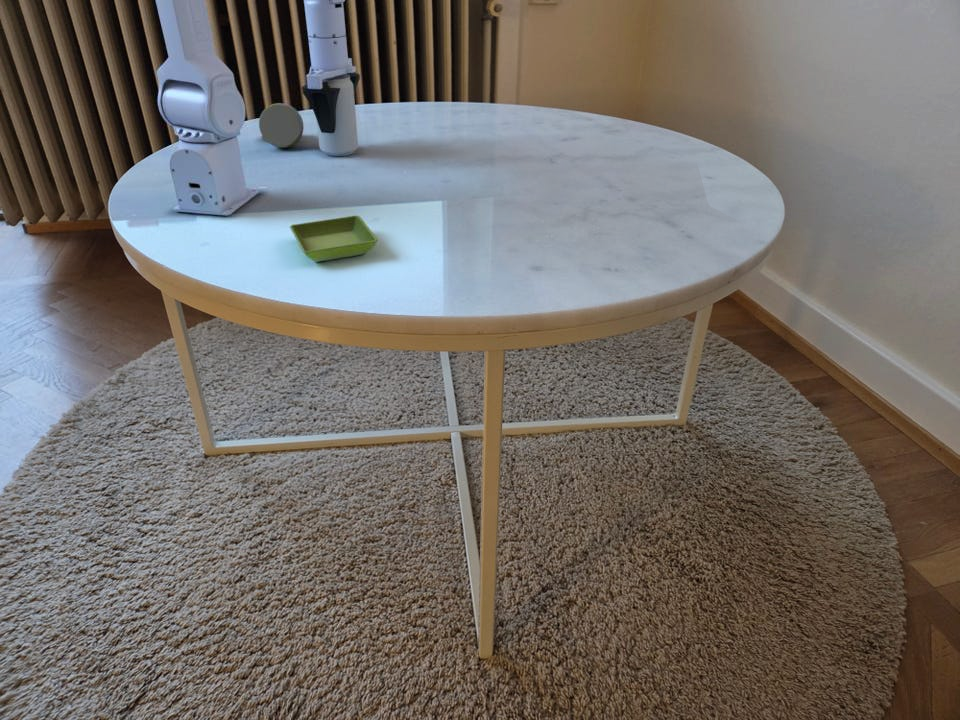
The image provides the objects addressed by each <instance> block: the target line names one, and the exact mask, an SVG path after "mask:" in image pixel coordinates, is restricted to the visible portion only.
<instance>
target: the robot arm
mask: <svg viewBox="0 0 960 720" xmlns="http://www.w3.org/2000/svg"><path fill="white" fill-rule="evenodd" d="M345 1H346V0H303V4H304V13H305V22H306V23H305V24H306V30H307V38H308V47H309V55H310V56H309V57H310V67H309V72H308V74H306V84H304V85H302V86H301V92H302V94H303V96H304V97H305V98H306V100H307V102H308V103H309V105H310V107H311V109H312V111H313V113H314V116H315V119H317V121H316V123H317V122H318V125H319V128H320V130H321V133H334V132H335V127H336V104H337V99H338V95H339V92H340V88H330V86H328V82H327V80H328V79H331V78H333V77H335V76H339V75H343V74H348V75H350V80H351V82H352V83H353V89H354V95H355V94H356V91H357V86H358V84H359V82H360V79H361V77H360V73H357V66H355V65H353V59H352V57H351V58H350V57H349V55H348V45H347V32H346V31H347V30H346V21H345V20H346V19H345V9H344V2H345ZM155 4H156V8H157V12H158V13H157V14H158V17H159V21H160V25H161V30H162V34H163V38H164V43H165V48H166V51H167V55H168V57H167V59H166V60H165V61H164V62H163V63H162V65H161V66H160V67H159V68H158V69H157V70H156V76H157V81H158V92H157V93H158V94H157V107H158V111H159V113H160V115H161V118H162V119H163V120H164V122H165V123H167V124H168V125H169V126H170V127H172V128H173V132H174V135H175V136H177V137H178V146H177V149H176V150H175V151H174V152H173V153H172V155H170V156H171V157H170V159H169V170H170V174H171V179H172V182H173V183H172V184H173V187H174V190H175V194H176V198H177V202H178V204H177V205H175V206H174V207H173V210H174V212H178V213H179V212H180V213H191V214H203V215H213V216H214V215H215V216H231V215H232V214H233V213H234V212H236V211H237V210H239V209H240V208H241V207H243V205H245V204H246V203H248V202H249V201H250V200H252V199H253V198H254V197H255V196H257V195H258V194H259V193H260V192H261V191H260V189H259V188H255V187H247V182H246V178H245V173H244V167H243V162H242V156H241V151H240V145H239V141H238V140H239V139H238V136H240V135H241V130H242V128H243V126H244V124H245V119H246V105H245V101H244V98H243V96H242V95H241V93H240V91H239V90H238V87H237V85H236V81H235V75H234V73H233V71H232V70H231V69H230V68H229V67H228V66H227V65H226V64H225V63H224V61H222V60H221V58H219V57H218V55H217V53H216V49H215V43H214V39H213V33H212V28H211V22H210V17H209V13H208V8H207V1H206V0H155Z"/></svg>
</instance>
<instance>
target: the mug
mask: <svg viewBox="0 0 960 720" xmlns="http://www.w3.org/2000/svg"><path fill="white" fill-rule="evenodd" d="M258 128H259V132H260V134H261V139H262V140H264V141H266V143H268V144H269V145H272V146H273V147H277V148H280V149H281V148H282V149H286V148H291V147H292V146H294V145H296V144H298V143H299V141H300V140H301V138H302V136H303V133H304V122H303V118H302V116H301V114H300V112H299V111H298V110H297V109H296V108H294V106H292V105H289V104H287V103H282V102H275V103H272V104H270V105H267V106H266V107H265V108H264V109H263V111H262V112H261V113H260V116H259V120H258Z"/></svg>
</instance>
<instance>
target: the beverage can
mask: <svg viewBox="0 0 960 720" xmlns="http://www.w3.org/2000/svg"><path fill="white" fill-rule="evenodd" d="M327 82H328V86H330V88H340V92H339V95H338V99H337V104H336V127H335V132H334V133H321V130H320V128H319V125H318V122H317V119H316V118H315V119H316V129H317V136H318V145H319V150H320V151H321V152H323V153H324V154H325V155H328V156H333V157H345V156H350V155H352V154H354V153H355V152H356V151H357V150H358V148H359V138H358V125H357V114H356V103H355V102H356V101H355V94H354V89H353V83H352V82H351V80H350V75H348V74H343V75H339V76H335V77H333V78H331V79H328V80H327Z"/></svg>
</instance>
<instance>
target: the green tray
mask: <svg viewBox="0 0 960 720" xmlns="http://www.w3.org/2000/svg"><path fill="white" fill-rule="evenodd" d="M289 229H290V231H291V232H292V234H293V236H294V238H295V240H296V241H297V243H298V245H299V247H300V250H301V251H302V252H303V255H305V256H306V257H307V258H308V259H309V260H311V261H312V262H315V263H318V262H319V263H320V262H324V261H331V260H336V259H342V258H348V257H354V256H361V255H365V254H367V253H368V252H370V251H371V250H372V249H374V247H375V246H376V244H377V242H378V237H376V235H375V234H374V232H372V230H371V229H370V228H369V226H368V225H367V224H366V222H365V221H364V220H363V218H362V217H361V216H360V215H348V216H342V217H336V218H328V219H322V220H315V221H309V222H308V221H307V222H303V223H295V224H291V225H289Z"/></svg>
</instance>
